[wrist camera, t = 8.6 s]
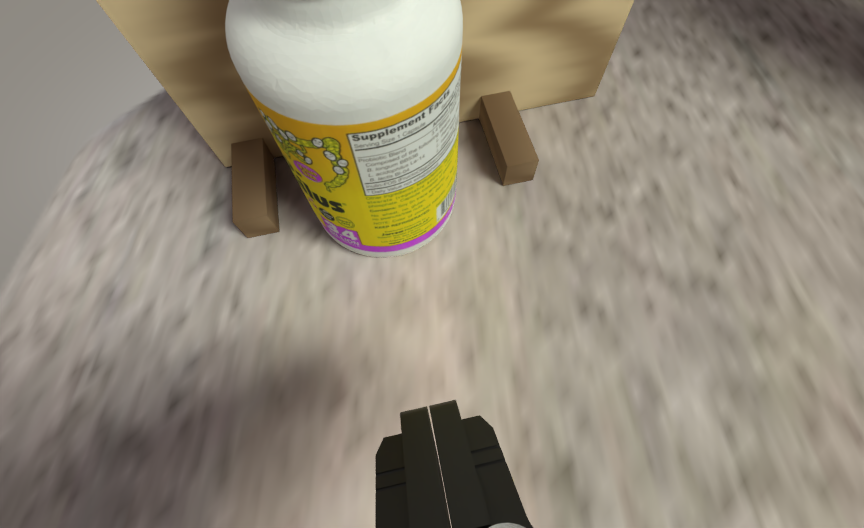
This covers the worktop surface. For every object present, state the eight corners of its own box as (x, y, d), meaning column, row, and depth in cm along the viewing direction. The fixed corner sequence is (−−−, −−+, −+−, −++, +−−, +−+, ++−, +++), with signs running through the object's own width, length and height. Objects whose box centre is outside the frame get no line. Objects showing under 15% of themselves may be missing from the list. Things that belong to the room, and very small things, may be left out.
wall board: (581, 70, 23) (654, -138, 15) (628, 160, 20) (749, -34, 12) (225, 137, 22) (94, -49, 14) (226, 242, 19) (63, 88, 11)
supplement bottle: (301, 177, 21) (114, -176, 9) (419, 130, 22) (388, -241, 10) (349, 287, 18) (174, -9, 6) (480, 228, 19) (534, -120, 7)
